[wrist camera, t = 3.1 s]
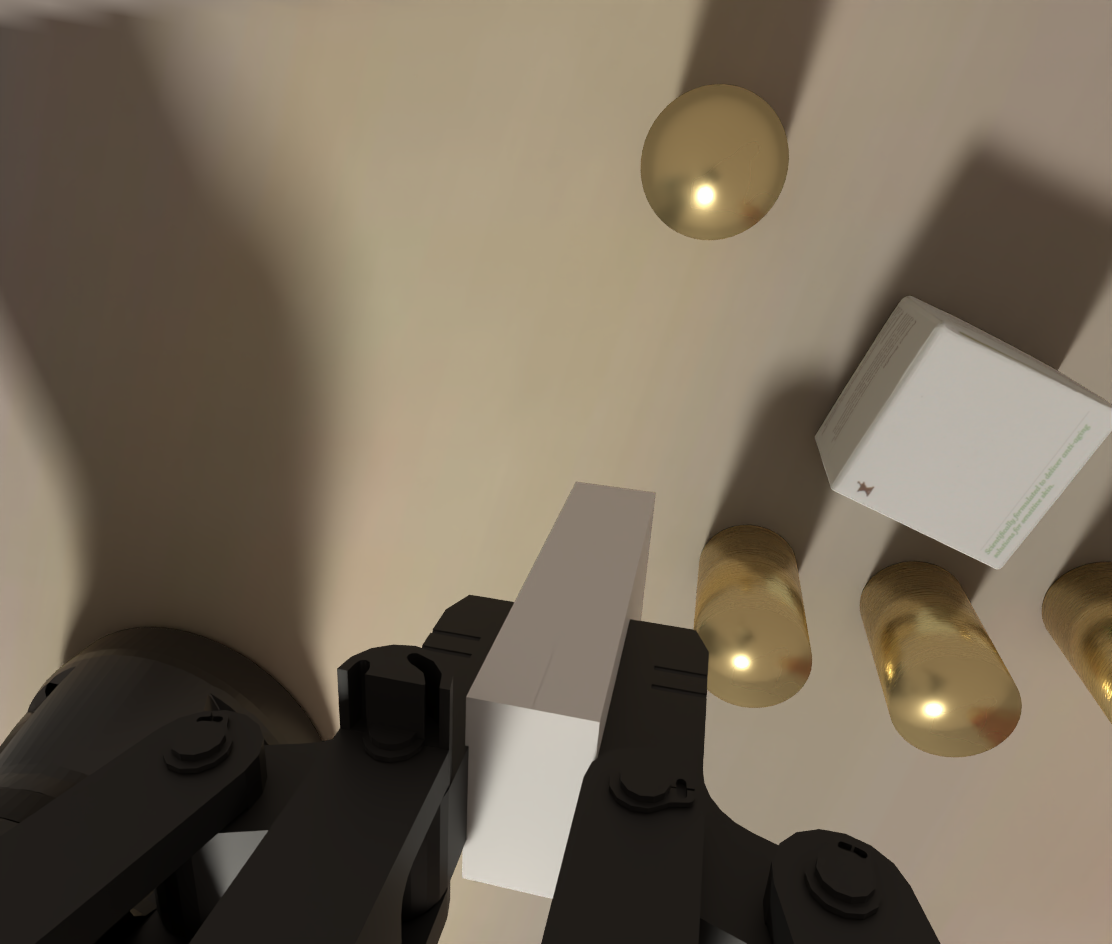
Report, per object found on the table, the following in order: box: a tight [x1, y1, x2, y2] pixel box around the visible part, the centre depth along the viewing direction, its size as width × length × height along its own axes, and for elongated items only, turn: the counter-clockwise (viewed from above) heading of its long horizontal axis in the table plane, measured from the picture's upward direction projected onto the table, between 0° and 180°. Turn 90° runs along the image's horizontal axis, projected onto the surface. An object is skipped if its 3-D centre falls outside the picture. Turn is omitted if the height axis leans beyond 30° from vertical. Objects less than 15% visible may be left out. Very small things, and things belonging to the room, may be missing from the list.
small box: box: [815, 296, 1112, 569], centre depth 24 cm, size 6×6×5 cm
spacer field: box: [641, 84, 1112, 757], centre depth 23 cm, size 20×19×6 cm
